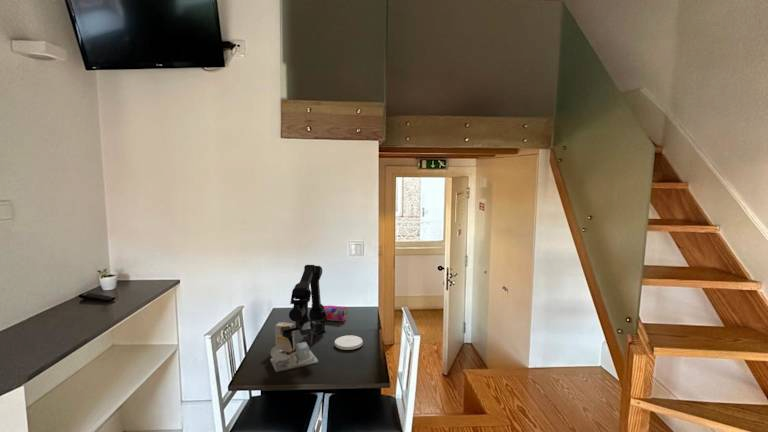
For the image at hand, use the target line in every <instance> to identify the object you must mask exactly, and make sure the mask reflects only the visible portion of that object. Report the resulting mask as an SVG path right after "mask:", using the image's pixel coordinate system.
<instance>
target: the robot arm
mask: <svg viewBox="0 0 768 432" xmlns="http://www.w3.org/2000/svg"><path fill="white" fill-rule="evenodd" d="M303 267H304V268H303V273H302V276H301V278H300V281H299V282H298V283H297V284H295V286H294V288H293V289H292V291H291V298H290V301H289V302H290V305H293V306H292V309H291V310H290V311H289V313H288V317H289V320H291V321H292V322H295V323H294V328H290V327H289V326H285V327H281V329H280V333H281V335H282V336H283V337H285V338H288V340H289V342H290V345H291V347H292V349H293V340H292V337H293V336H292V335H291V334H292V332H294V333H296V332H299V333H300V335H301V336H306V335H310V343H311V345H314V342H315V339H316V337H317V335H319V334H320V335H321V334H325V333H327V331H326V328H325V327H326V326H325V325H326V324H325V323H326V322H327V321H328V320H327V315H326V312H325V311H324V306H325V305H323V304H322V303H321V301H322V300H321V291H320V280H321V277H322V275H323V268H322V266H320V265H315V264H305V265H304V266H303ZM310 301H311V305H312V306H311V308H310V309H309V302H310Z"/></svg>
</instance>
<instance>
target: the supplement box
mask: <svg viewBox="0 0 768 432" xmlns="http://www.w3.org/2000/svg"><path fill="white" fill-rule="evenodd" d="M285 326H289V327H290V328H295V323H291V322H290V323H289V322H283V321H279V322H278V323H277V324H274V328H275V330H274V333H275V346H282V347H283V349H284V351H285V352H286V354H287V353H288V354H291V353H293V351H296V341H295V340H296V339H295V336H296V335H295V332H292V334H291V335H292V336H293V337H292V340H293V349H292V347H291V345H290V342H289V340H288V338H285V337H283V336H282V335H281V333H280V329H281V327H285Z"/></svg>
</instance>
